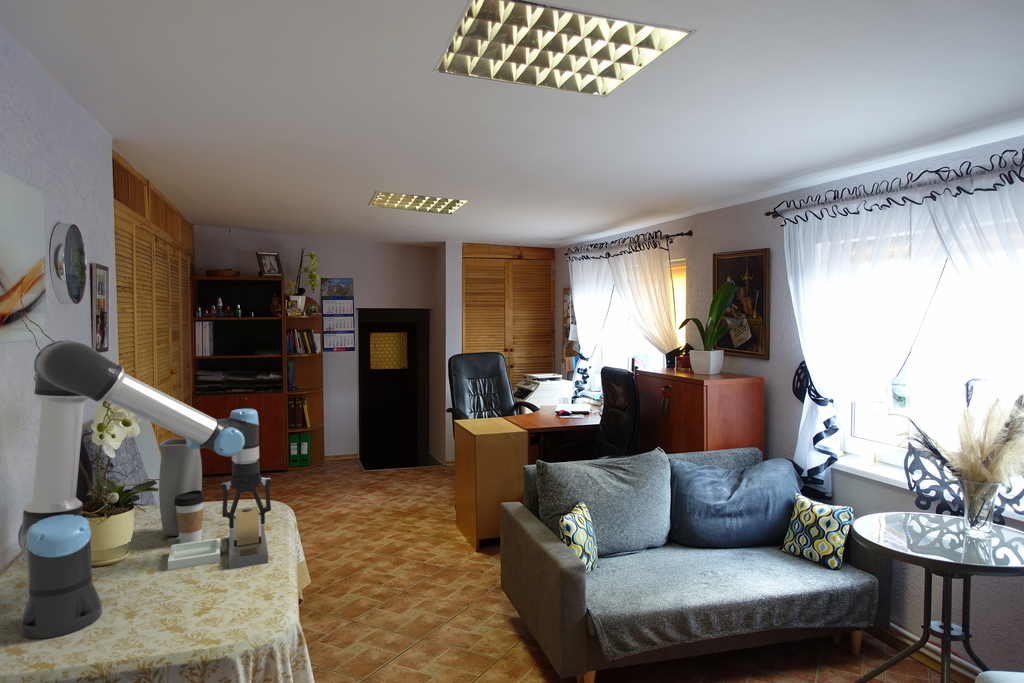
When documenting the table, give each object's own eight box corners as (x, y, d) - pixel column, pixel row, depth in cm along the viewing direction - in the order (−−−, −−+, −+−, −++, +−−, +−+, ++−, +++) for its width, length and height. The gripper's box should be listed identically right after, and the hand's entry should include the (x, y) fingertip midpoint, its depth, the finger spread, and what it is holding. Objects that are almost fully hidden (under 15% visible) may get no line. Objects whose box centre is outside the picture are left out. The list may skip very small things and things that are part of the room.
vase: (169, 527, 201) (166, 438, 199) (208, 525, 203) (206, 436, 201) (153, 541, 189) (149, 446, 187) (194, 538, 191) (191, 444, 189)
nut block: (259, 551, 180) (258, 511, 180) (237, 554, 178) (236, 514, 177) (258, 544, 186) (257, 505, 185) (236, 547, 183) (235, 508, 183)
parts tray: (220, 561, 173) (219, 553, 173) (168, 570, 167) (167, 561, 167) (220, 545, 185) (220, 537, 184) (172, 553, 179) (171, 545, 179)
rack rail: (268, 562, 172) (268, 553, 172) (229, 569, 168) (229, 559, 168) (263, 532, 196) (263, 524, 196) (229, 537, 192) (229, 529, 191)
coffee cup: (210, 540, 189) (208, 493, 188) (181, 548, 183) (179, 499, 182) (199, 534, 195) (198, 488, 194) (171, 541, 188) (169, 494, 188)
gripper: (278, 454, 188) (280, 527, 189) (210, 461, 180) (212, 537, 181) (280, 460, 181) (282, 535, 182) (209, 467, 173) (212, 546, 174)
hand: (247, 536), depth 182 cm, fingers closed on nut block, 6 cm apart
